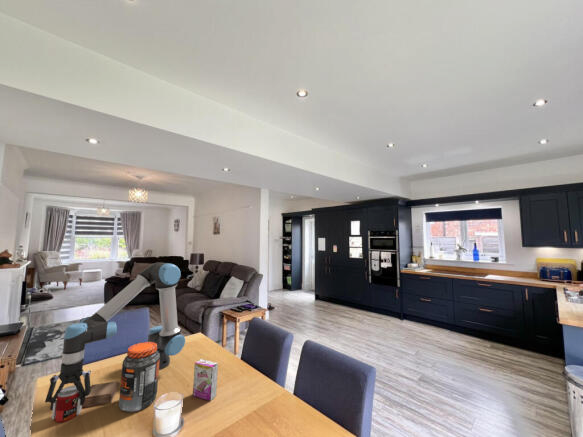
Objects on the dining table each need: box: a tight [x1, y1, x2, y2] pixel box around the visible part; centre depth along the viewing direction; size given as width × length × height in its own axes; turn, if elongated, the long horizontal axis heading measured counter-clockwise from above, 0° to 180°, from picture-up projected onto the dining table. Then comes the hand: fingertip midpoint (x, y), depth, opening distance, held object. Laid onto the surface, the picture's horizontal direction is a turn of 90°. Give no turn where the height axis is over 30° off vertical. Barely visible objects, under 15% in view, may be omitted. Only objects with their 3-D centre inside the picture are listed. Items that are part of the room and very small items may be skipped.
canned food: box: [54, 384, 80, 424], centre depth 108 cm, size 8×8×11 cm
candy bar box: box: [192, 358, 219, 402], centre depth 125 cm, size 11×5×16 cm, turn 71°
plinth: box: [81, 380, 120, 409], centre depth 121 cm, size 12×12×4 cm
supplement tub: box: [118, 341, 160, 413], centre depth 120 cm, size 16×16×26 cm
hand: (66, 414), depth 108 cm, fingers closed on canned food, 8 cm apart
